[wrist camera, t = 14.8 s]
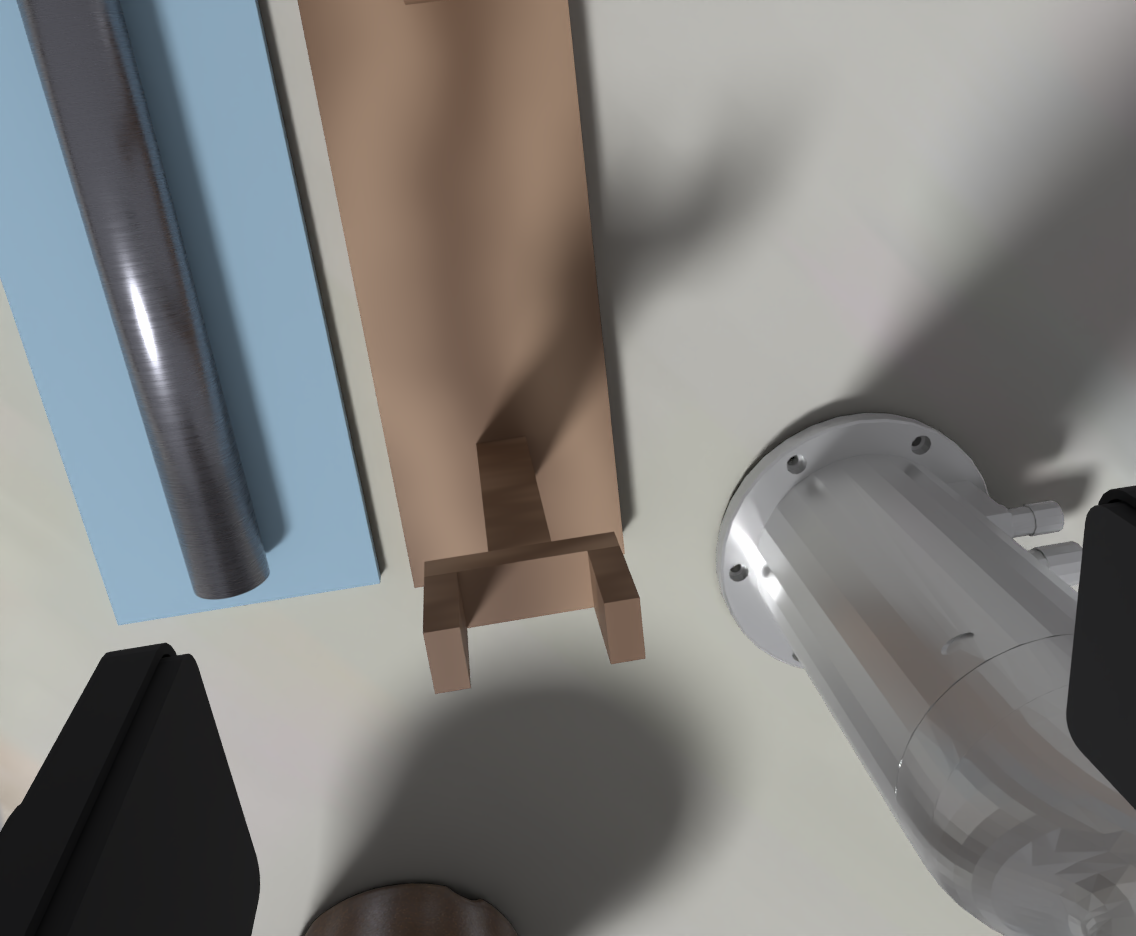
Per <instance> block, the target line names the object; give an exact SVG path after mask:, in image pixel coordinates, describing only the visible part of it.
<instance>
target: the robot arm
mask: <svg viewBox="0 0 1136 936" xmlns="http://www.w3.org/2000/svg"><path fill="white" fill-rule="evenodd" d="M916 437H917V438H916ZM915 438H916V440H915ZM914 440H915V441H914ZM913 441H914V442H913ZM793 456H795V458H794V459H793V460H792V461H790V462H788V460H789V459H790V458H791V457H793ZM1063 525H1064V514H1063V512H1062V509H1061V507H1060V506H1059V504H1058V503H1057V502H1055V501H1052V500H1051V501H1045V502H1039V503H1032V504H1026V505H1023V506H1022V507H1017V508H1011V509H1007V508H1006V507H1005V506H1004V505H1002V504H998V503H997V502H995V501H994V500H993V499H992V498H990V496H989V493H988V490H987V487H986V484H985V481H984V478H983V477H982V475H981V474H980V472H979V470H978V469H977V467H976V465H975V464H974V462H973V460H972V459H971V458H970V457H969V456H968V455H967V454H966V453H965V452H964V451H963V450H962V449H961V448H960V447H959V446H958V445H957V444H956V443H955V442H953V441H952V440H951V439H949V438H948V437H946V436H945V435H944V434H942V433H941V432H939V431H938V430H936V429H934V428H932V427H930V426H928V425H926V424H924V423H922V422H919V421H917V420H915V419H911V418H907V417H903V416H898V415H894V414H884V413H860V414H854V415H847V416H841V417H836V418H833V419H830V420H827V421H824V422H821V423H818V424H816V425H813V426H810V427H808V428H806V429H805V430H803V431H801V432H799V433H797V434H795V435H794V436H792V437H790V438H788V439H786V440H785V441H784V442H782V443H781V444H780V445H779V446H777V447H776V448H775V449H773V450H772V451H771V452H770V453H768V454H767V455H766V456H764V457H763V458H762V460H761V461H760V462H759V463H758V464H757V465H756V466H755V467H754V468H753V469H752V471H751V472H750V473H749V474H748V475H747V476H746V477H745V479H744V480H743V482H742V483H741V485H740V486H739V488H738V490H737V491H736V493H735V494H734V496H733V497H732V499H731V501H730V503H729V506H728V508H727V510H726V513H725V515H724V518H723V520H722V523H721V526H720V531H719V536H718V542H717V547H716V573H717V577H718V581H719V586H720V590H721V594H722V596H723V599H724V601H725V603H726V605H727V607H728V609H729V611H730V613H731V615H732V617H733V618H734V620H735V621H736V623H737V625H738V626H739V628H740V629H741V631H742V632H743V633H744V634H745V635H746V636H747V637H748V638H749V639H750V640H751V641H752V642H753V643H754V644H755V645H756V646H757V647H758V648H759V649H761V650H762V651H764V652H765V653H767V654H769V655H770V656H772V657H773V658H775V659H777V660H779V661H781V662H784V663H786V664H789V665H791V666H794V667H797V668H802V669H804V670H805V671H806V673H807V674H808V676H809V678H810V679H811V681H812V683H813V684H814V686H815V688H816V689H817V691H818V692H819V694H820V696H821V697H822V699H823V701H824V702H825V704H826V706H827V707H828V709H829V711H830V712H831V714H832V715H833V717H834V719H835V720H836V722H837V724H838V725H839V727H840V729H841V730H842V732H843V733H844V735H845V737H846V738H847V740H848V742H849V743H850V745H851V747H852V748H853V750H854V752H855V753H856V755H857V756H858V758H859V760H860V761H861V763H862V765H863V766H864V768H865V770H866V771H867V773H868V774H869V776H870V778H871V779H872V781H873V783H874V784H875V786H876V788H877V789H878V791H879V793H880V794H881V796H882V797H883V799H884V801H885V802H886V804H887V806H888V807H889V809H890V811H891V812H892V814H893V815H894V817H895V819H896V820H897V822H898V824H899V825H900V827H901V829H902V830H903V832H904V834H905V835H906V837H907V838H908V840H909V841H910V843H911V844H912V846H913V848H914V849H915V851H916V852H917V854H918V856H919V857H920V859H921V861H922V862H923V864H924V865H925V867H926V868H927V869H928V871H929V872H930V874H931V875H932V876H933V878H934V879H935V880H936V882H937V883H938V884H939V885H940V886H941V888H942V889H943V890H944V891H945V892H946V893H947V894H948V895H949V896H950V897H951V898H952V899H953V900H954V901H955V902H956V903H957V904H958V905H959V906H961V907H962V908H963V909H964V910H966V911H967V912H968V913H970V914H971V915H973V916H974V917H975V918H977V919H978V920H980V921H981V922H982V923H984V924H985V925H987V926H988V927H990V928H991V929H993V930H995V931H997V932H999V933H1001V934H1003V935H1005V936H1136V486H1130V487H1123V488H1117V489H1111V490H1109V491H1107V492H1106V493H1104V494H1103V496H1102V498H1101V499H1100V501H1099V504H1098V505H1097V506H1094V507H1092V508H1091V509H1090V510H1089V512H1088V514H1087V517H1086V521H1085V530H1084V540H1083V548H1082V547H1081V546H1080V545H1079V544H1078V543H1076V542H1073V541H1070V542H1064V543H1058V544H1052V545H1046V546H1040V547H1035V548H1033V549H1031V550H1028V551H1027V550H1026V549H1024V548H1023V547H1022V546H1021V545H1019V544H1018V543H1017V542H1016V541H1015V540H1013V538H1014V537H1020V536H1026V535H1029V536H1036V535H1042V534H1048V533H1054V532H1059V531H1060V530H1062V529H1063ZM737 564H738V565H737ZM735 565H737V566H736V567H733V566H735ZM732 567H733V568H732ZM1074 585H1079V589H1078V592H1076V591H1075V590H1074V589H1073V588H1072V587H1070V586H1074ZM259 893H260V873H259V866H258V861H257V857H256V853H255V850H254V847H253V843H252V840H251V837H250V834H249V830H248V827H247V824H246V821H245V817H244V814H243V811H242V808H241V805H240V801H239V798H238V795H237V792H236V788H235V785H234V782H233V779H232V775H231V772H230V769H229V766H228V762H227V759H226V756H225V753H224V749H223V746H222V743H221V740H220V736H219V733H218V730H217V727H216V723H215V720H214V717H213V714H212V710H211V707H210V704H209V701H208V697H207V694H206V691H205V688H204V684H203V681H202V678H201V675H200V671H199V668H198V666H197V663H196V661H195V659H194V658H193V656H192V655H190V654H184V655H178V656H177V655H176V652H175V651H174V649H173V648H172V646H171V645H169V644H167V643H161V644H155V645H149V646H143V647H137V648H131V649H124V650H118V651H112V652H108V653H106V654H105V655H104V656H103V657H102V658H101V660H100V662H99V664H98V666H97V667H96V669H95V671H94V673H93V675H92V676H91V678H90V680H89V682H88V684H87V686H86V687H85V689H84V691H83V693H82V695H81V696H80V698H79V700H78V702H77V704H76V705H75V707H74V709H73V711H72V713H71V714H70V716H69V718H68V720H67V722H66V723H65V725H64V727H63V729H62V731H61V732H60V734H59V736H58V738H57V740H56V742H55V743H54V745H53V747H52V749H51V751H50V752H49V754H48V756H47V758H46V760H45V761H44V763H43V765H42V767H41V769H40V770H39V772H38V774H37V776H36V778H35V779H34V781H33V783H32V785H31V787H30V789H29V790H28V792H27V794H26V796H25V798H24V799H23V801H22V803H21V804H20V805H19V806H17V807H16V809H15V810H14V811H13V813H12V814H11V815H10V816H9V818H8V819H7V821H6V823H5V825H4V826H3V828H2V830H1V832H0V936H251V934H252V929H253V924H254V919H255V914H256V910H257V905H258V900H259Z"/></svg>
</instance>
